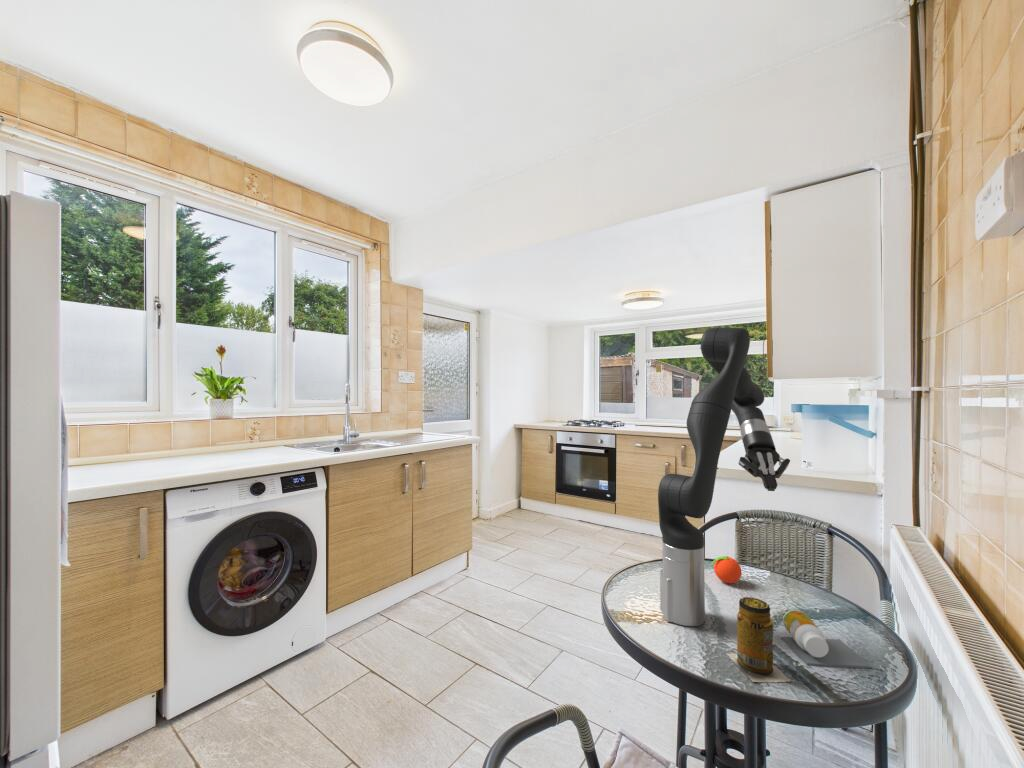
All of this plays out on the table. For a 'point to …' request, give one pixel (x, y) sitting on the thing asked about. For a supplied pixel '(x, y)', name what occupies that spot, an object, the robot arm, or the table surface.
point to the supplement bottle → (805, 633)
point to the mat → (829, 655)
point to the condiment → (756, 642)
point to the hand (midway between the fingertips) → (772, 489)
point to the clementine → (727, 569)
